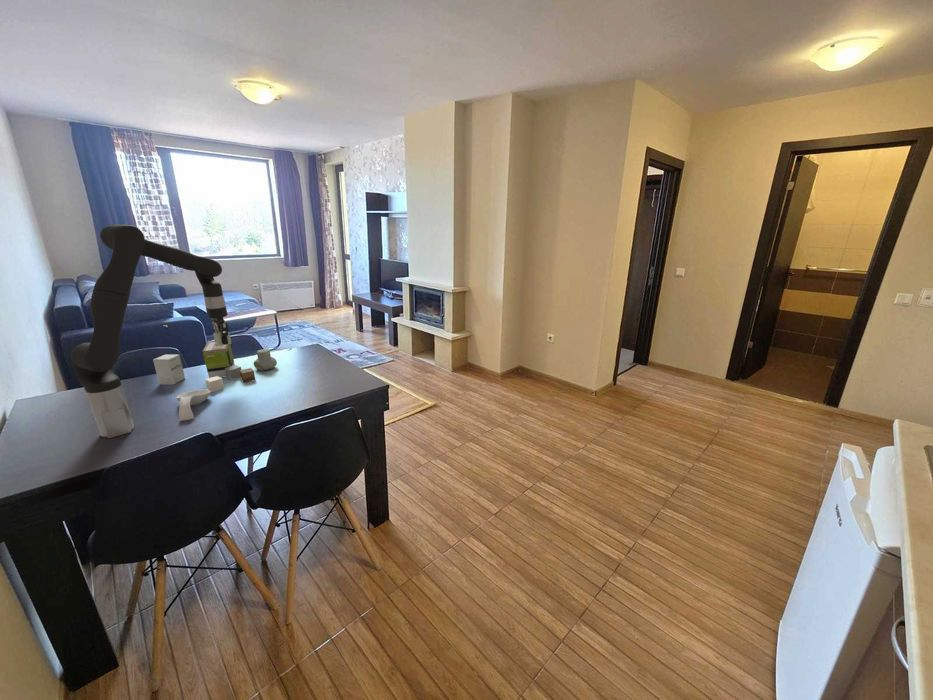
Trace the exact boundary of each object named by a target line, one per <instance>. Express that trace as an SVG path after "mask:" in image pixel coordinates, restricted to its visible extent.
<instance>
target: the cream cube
mask: <svg viewBox="0 0 933 700" xmlns="http://www.w3.org/2000/svg"><path fill="white" fill-rule="evenodd" d="M204 381H205V385H206V389H207V390H210V393H212V392H217V391H220V390H223V389H224V383H223V377H218V376H215V377H211V378H209V377H208V378H205V379H204Z"/></svg>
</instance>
